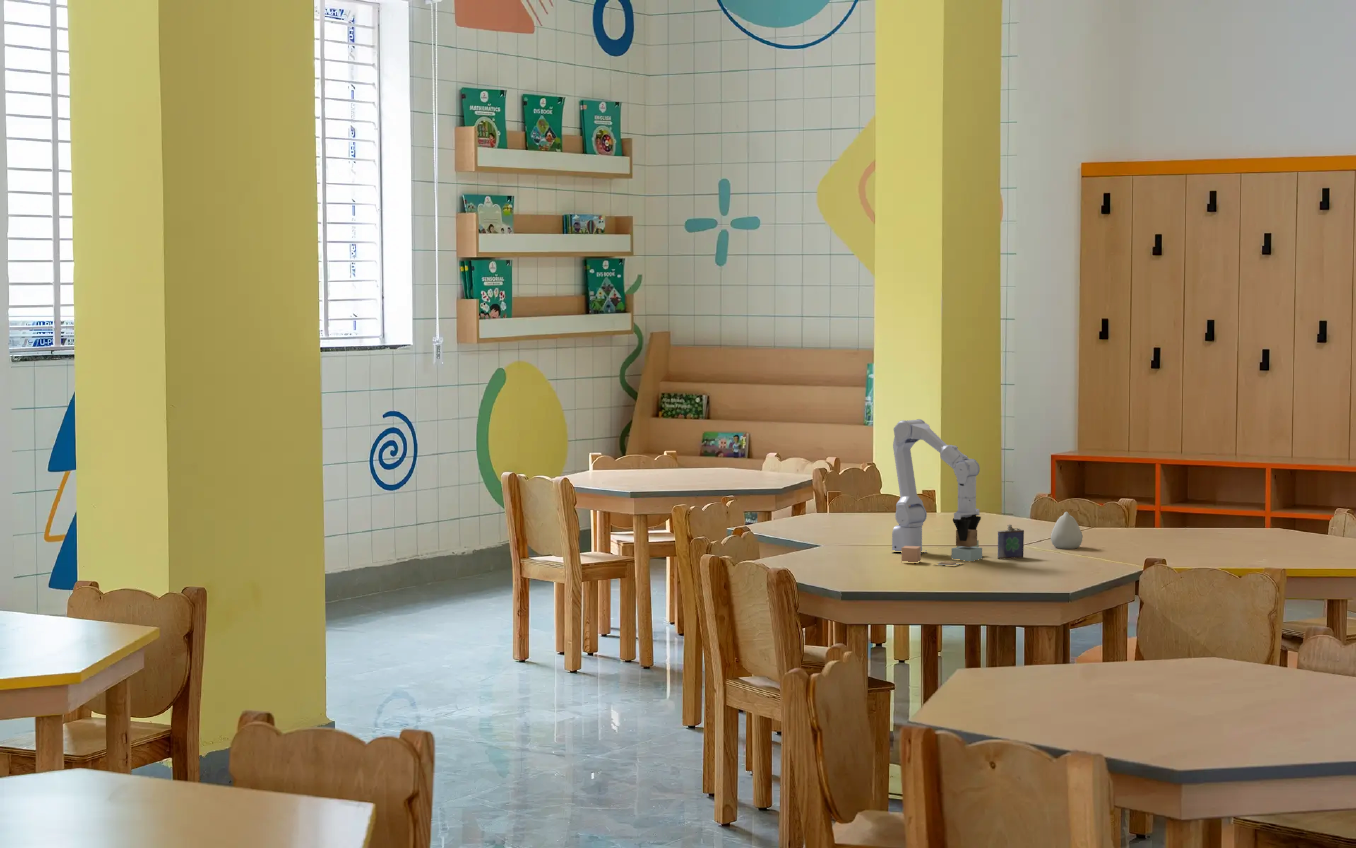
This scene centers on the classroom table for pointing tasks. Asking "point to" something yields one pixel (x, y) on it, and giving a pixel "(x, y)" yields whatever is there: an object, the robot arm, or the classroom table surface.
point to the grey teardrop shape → (1066, 533)
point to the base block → (967, 553)
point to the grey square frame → (947, 563)
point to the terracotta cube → (911, 553)
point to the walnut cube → (968, 539)
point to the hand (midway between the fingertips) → (966, 539)
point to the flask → (1010, 543)
